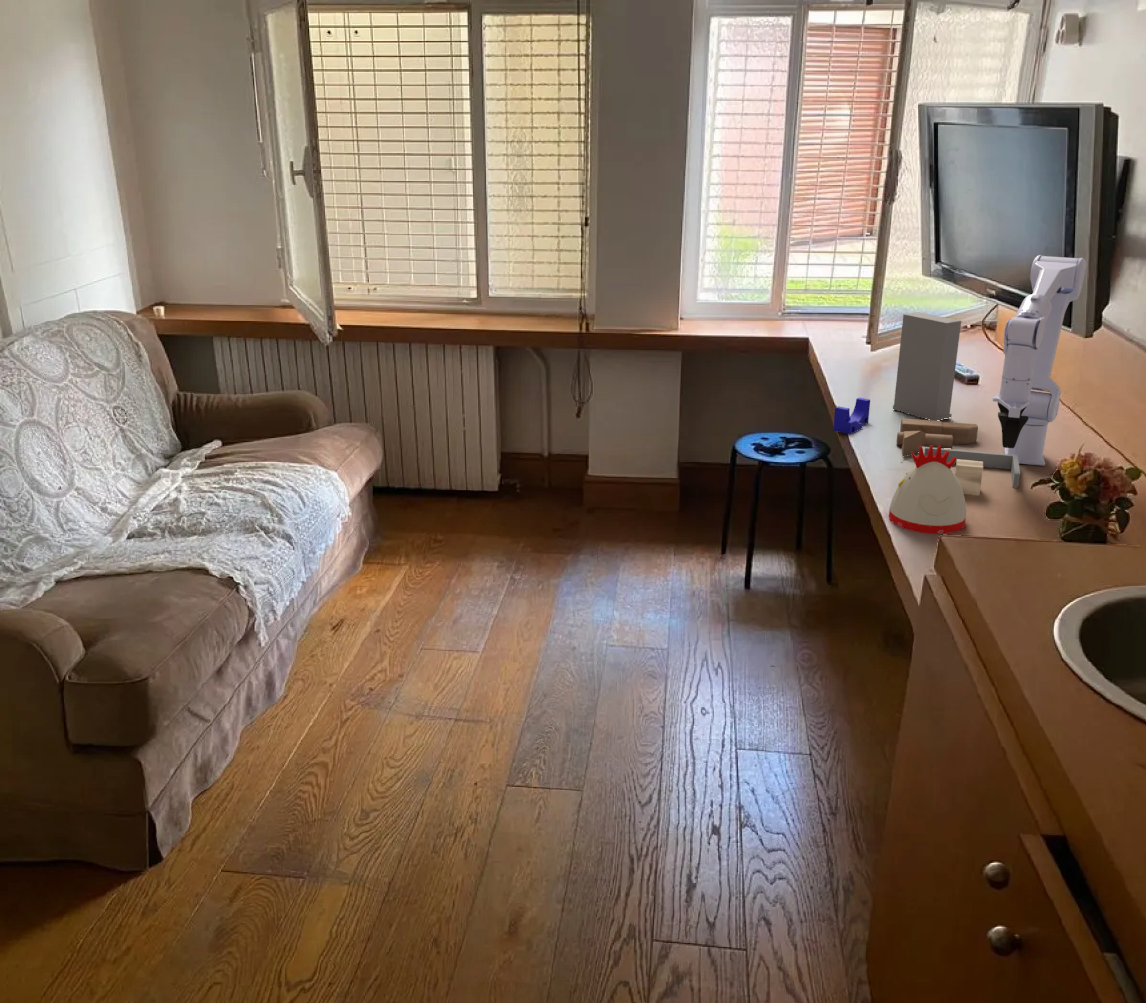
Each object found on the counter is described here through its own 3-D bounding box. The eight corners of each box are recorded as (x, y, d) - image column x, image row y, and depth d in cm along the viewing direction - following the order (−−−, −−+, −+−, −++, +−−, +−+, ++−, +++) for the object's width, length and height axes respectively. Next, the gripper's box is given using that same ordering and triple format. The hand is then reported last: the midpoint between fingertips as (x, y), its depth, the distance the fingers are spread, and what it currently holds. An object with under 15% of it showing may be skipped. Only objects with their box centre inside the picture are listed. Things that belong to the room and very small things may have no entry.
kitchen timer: (882, 505, 202) (890, 433, 197) (954, 507, 201) (963, 434, 196) (897, 533, 189) (905, 456, 184) (973, 535, 188) (984, 457, 183)
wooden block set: (897, 413, 244) (978, 418, 239) (895, 436, 246) (974, 441, 241) (899, 434, 228) (985, 439, 224) (897, 458, 230) (982, 464, 226)
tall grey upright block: (951, 419, 257) (964, 320, 248) (934, 423, 254) (946, 323, 245) (909, 406, 268) (919, 311, 259) (892, 410, 265) (902, 314, 256)
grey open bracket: (919, 459, 228) (920, 446, 227) (1015, 468, 222) (1017, 455, 221) (916, 477, 217) (917, 464, 216) (1017, 487, 210) (1020, 474, 209)
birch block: (953, 486, 212) (956, 459, 210) (979, 489, 210) (982, 461, 208) (953, 492, 208) (956, 465, 206) (979, 495, 207) (983, 467, 205)
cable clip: (850, 434, 247) (852, 410, 244) (833, 431, 249) (835, 407, 247) (873, 423, 255) (875, 400, 253) (857, 420, 258) (859, 397, 256)
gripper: (995, 367, 213) (987, 429, 218) (996, 384, 200) (987, 450, 205) (1032, 369, 210) (1022, 432, 215) (1035, 387, 198) (1025, 454, 203)
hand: (1008, 441), depth 210 cm, fingers open, 7 cm apart
